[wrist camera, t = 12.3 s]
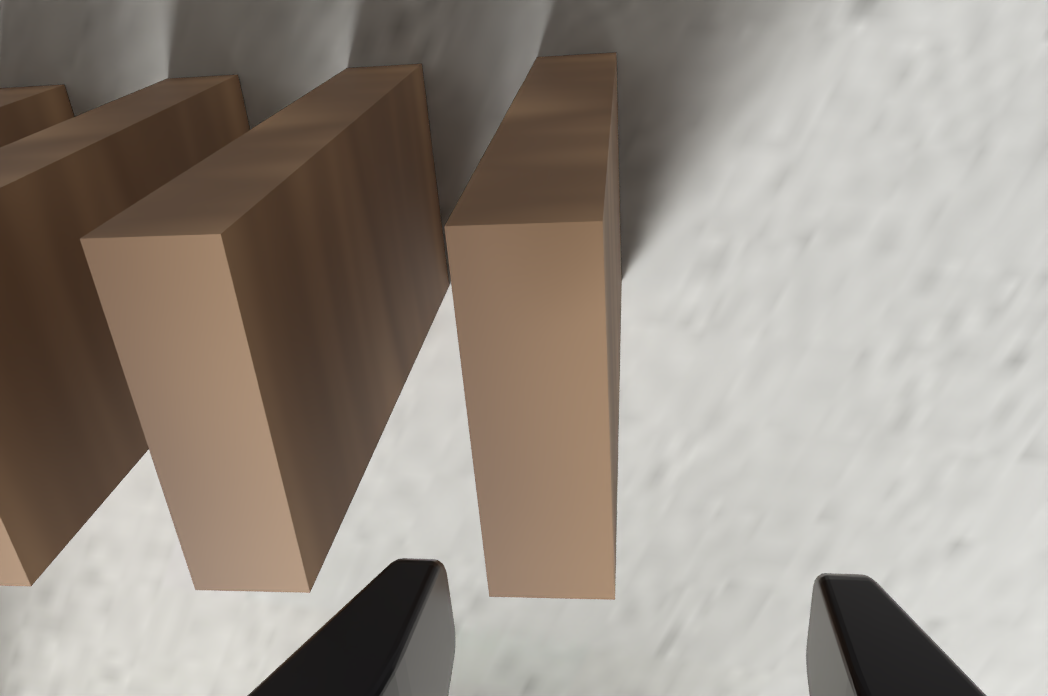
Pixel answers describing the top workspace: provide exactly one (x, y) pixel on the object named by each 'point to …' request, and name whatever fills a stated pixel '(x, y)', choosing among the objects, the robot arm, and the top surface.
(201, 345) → the tile
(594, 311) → the tile
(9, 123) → the tile
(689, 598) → the top surface
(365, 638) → the robot arm
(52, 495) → the tile
